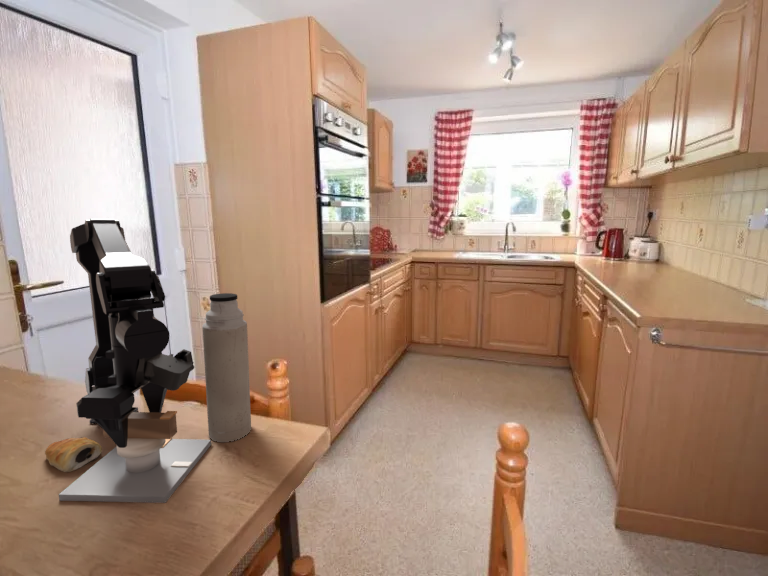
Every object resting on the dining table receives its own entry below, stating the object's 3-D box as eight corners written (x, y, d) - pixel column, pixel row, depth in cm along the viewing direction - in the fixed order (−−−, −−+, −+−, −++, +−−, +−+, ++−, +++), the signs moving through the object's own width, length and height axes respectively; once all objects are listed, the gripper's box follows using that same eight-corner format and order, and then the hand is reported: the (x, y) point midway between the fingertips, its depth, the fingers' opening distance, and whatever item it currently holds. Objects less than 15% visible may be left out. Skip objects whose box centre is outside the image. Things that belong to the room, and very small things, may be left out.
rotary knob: (122, 434, 71) (119, 403, 71) (186, 435, 71) (183, 404, 70) (94, 457, 65) (90, 423, 64) (164, 458, 64) (161, 424, 64)
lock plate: (127, 442, 77) (125, 423, 76) (211, 444, 77) (210, 424, 76) (59, 500, 61) (56, 476, 60) (165, 502, 61) (163, 478, 60)
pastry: (33, 462, 70) (30, 442, 70) (75, 443, 77) (73, 424, 76) (67, 476, 67) (64, 455, 66) (108, 455, 73) (106, 435, 72)
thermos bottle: (221, 420, 86) (214, 290, 81) (257, 423, 85) (252, 291, 80) (200, 441, 78) (191, 297, 73) (240, 443, 77) (234, 299, 72)
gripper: (148, 363, 56) (157, 466, 58) (208, 327, 74) (212, 407, 77) (68, 361, 56) (80, 464, 58) (147, 326, 74) (154, 406, 77)
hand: (140, 431), depth 68 cm, fingers open, 9 cm apart
